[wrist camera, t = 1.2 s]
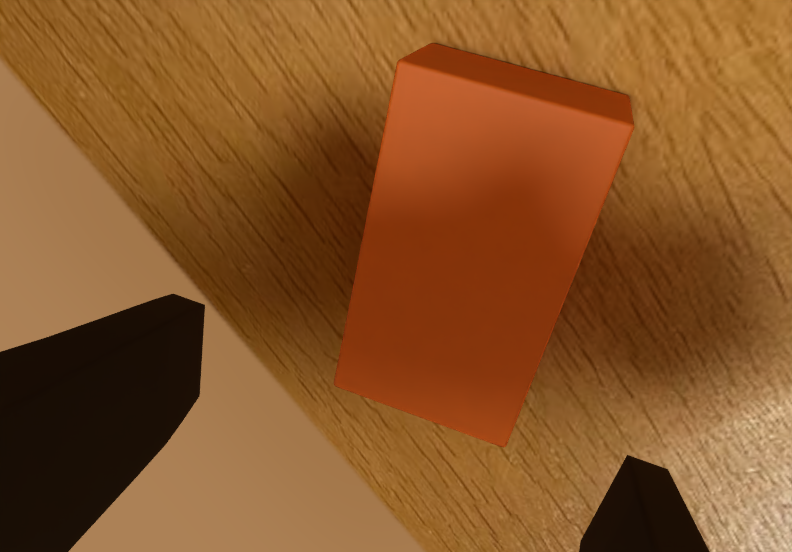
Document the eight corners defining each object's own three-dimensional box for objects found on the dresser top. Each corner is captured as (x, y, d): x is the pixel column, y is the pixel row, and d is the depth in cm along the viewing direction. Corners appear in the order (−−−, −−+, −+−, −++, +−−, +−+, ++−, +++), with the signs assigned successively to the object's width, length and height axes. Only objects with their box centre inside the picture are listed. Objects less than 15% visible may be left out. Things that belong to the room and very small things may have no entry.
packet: (366, 331, 20) (332, 386, 18) (430, 41, 16) (396, 59, 13) (518, 384, 19) (504, 449, 17) (630, 95, 15) (636, 125, 12)
